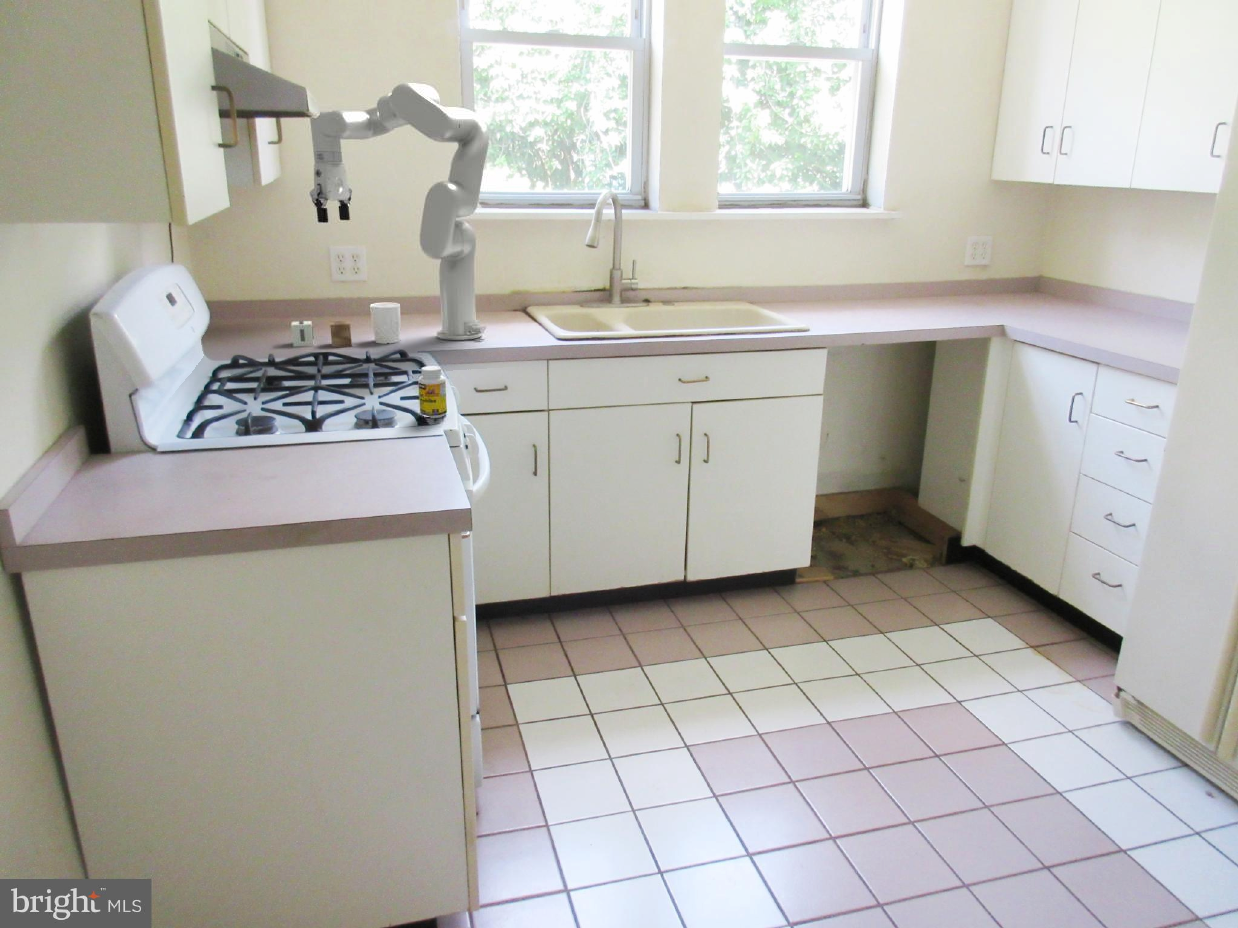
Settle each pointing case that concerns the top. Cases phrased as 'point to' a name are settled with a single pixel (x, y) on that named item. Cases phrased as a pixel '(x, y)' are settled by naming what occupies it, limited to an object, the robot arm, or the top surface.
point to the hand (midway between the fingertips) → (334, 221)
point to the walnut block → (340, 333)
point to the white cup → (386, 322)
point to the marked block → (302, 333)
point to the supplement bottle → (432, 392)
